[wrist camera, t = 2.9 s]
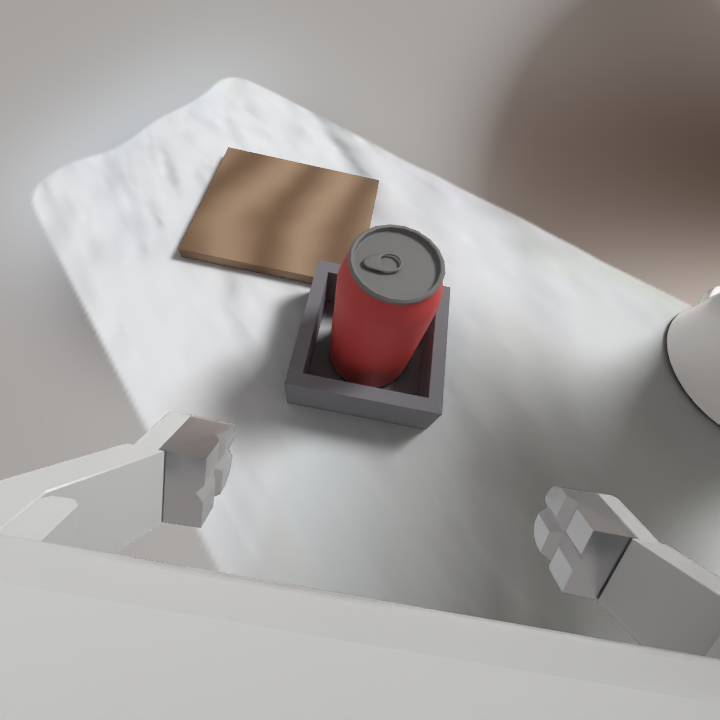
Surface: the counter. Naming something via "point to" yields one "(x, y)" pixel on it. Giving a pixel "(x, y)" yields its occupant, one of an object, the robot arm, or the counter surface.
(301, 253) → the walnut board
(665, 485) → the counter surface
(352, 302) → the beer can
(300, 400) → the can collar
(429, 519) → the counter surface
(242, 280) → the counter surface
